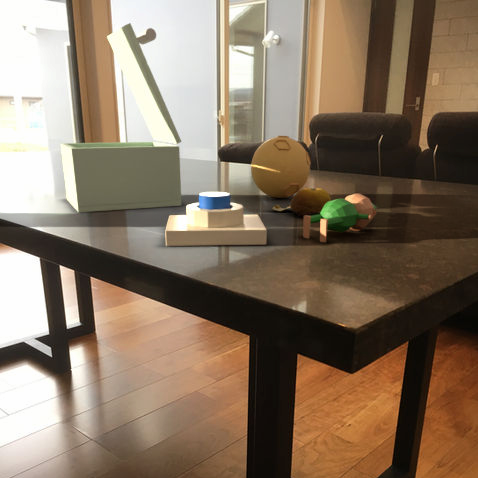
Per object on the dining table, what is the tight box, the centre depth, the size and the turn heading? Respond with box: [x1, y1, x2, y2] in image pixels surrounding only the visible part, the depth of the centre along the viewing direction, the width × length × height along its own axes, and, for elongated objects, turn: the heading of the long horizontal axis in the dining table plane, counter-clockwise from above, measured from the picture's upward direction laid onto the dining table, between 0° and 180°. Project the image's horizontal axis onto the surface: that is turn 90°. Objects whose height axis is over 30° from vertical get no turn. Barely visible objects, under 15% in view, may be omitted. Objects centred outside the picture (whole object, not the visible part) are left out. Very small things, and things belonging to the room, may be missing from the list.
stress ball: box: [250, 135, 312, 199], centre depth 87 cm, size 10×10×10 cm
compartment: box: [60, 141, 182, 213], centre depth 81 cm, size 16×13×9 cm
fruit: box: [271, 187, 332, 218], centre depth 74 cm, size 8×8×4 cm
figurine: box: [302, 193, 378, 243], centre depth 62 cm, size 4×7×12 cm
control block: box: [164, 202, 268, 247], centre depth 60 cm, size 11×9×4 cm
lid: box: [106, 22, 182, 145], centre depth 79 cm, size 16×13×5 cm
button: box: [198, 191, 231, 210], centre depth 59 cm, size 4×4×2 cm
